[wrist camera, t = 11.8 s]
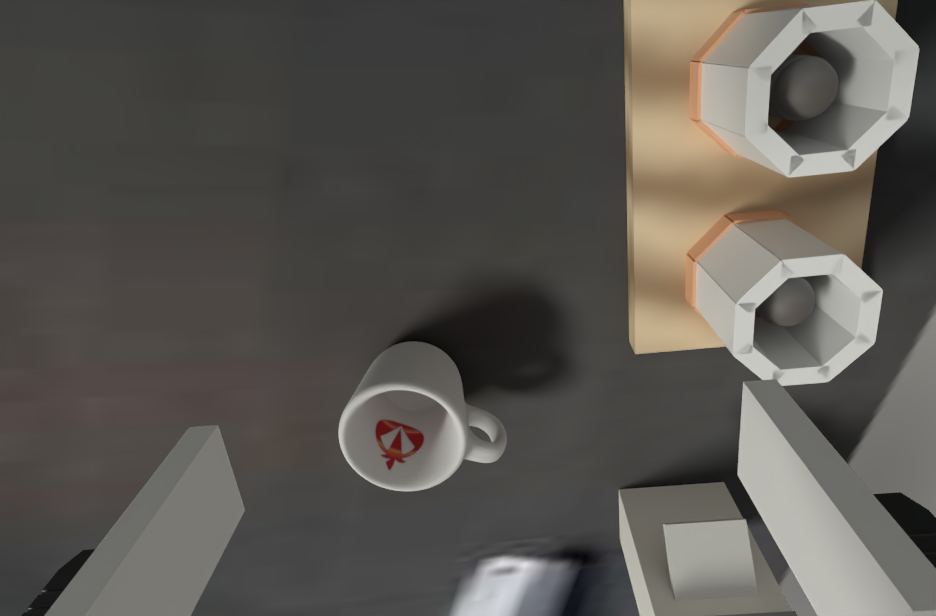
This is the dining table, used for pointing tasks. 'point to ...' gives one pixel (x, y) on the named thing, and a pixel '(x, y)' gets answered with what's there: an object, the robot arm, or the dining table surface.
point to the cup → (414, 421)
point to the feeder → (694, 554)
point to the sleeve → (759, 274)
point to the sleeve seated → (818, 34)
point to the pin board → (716, 171)
